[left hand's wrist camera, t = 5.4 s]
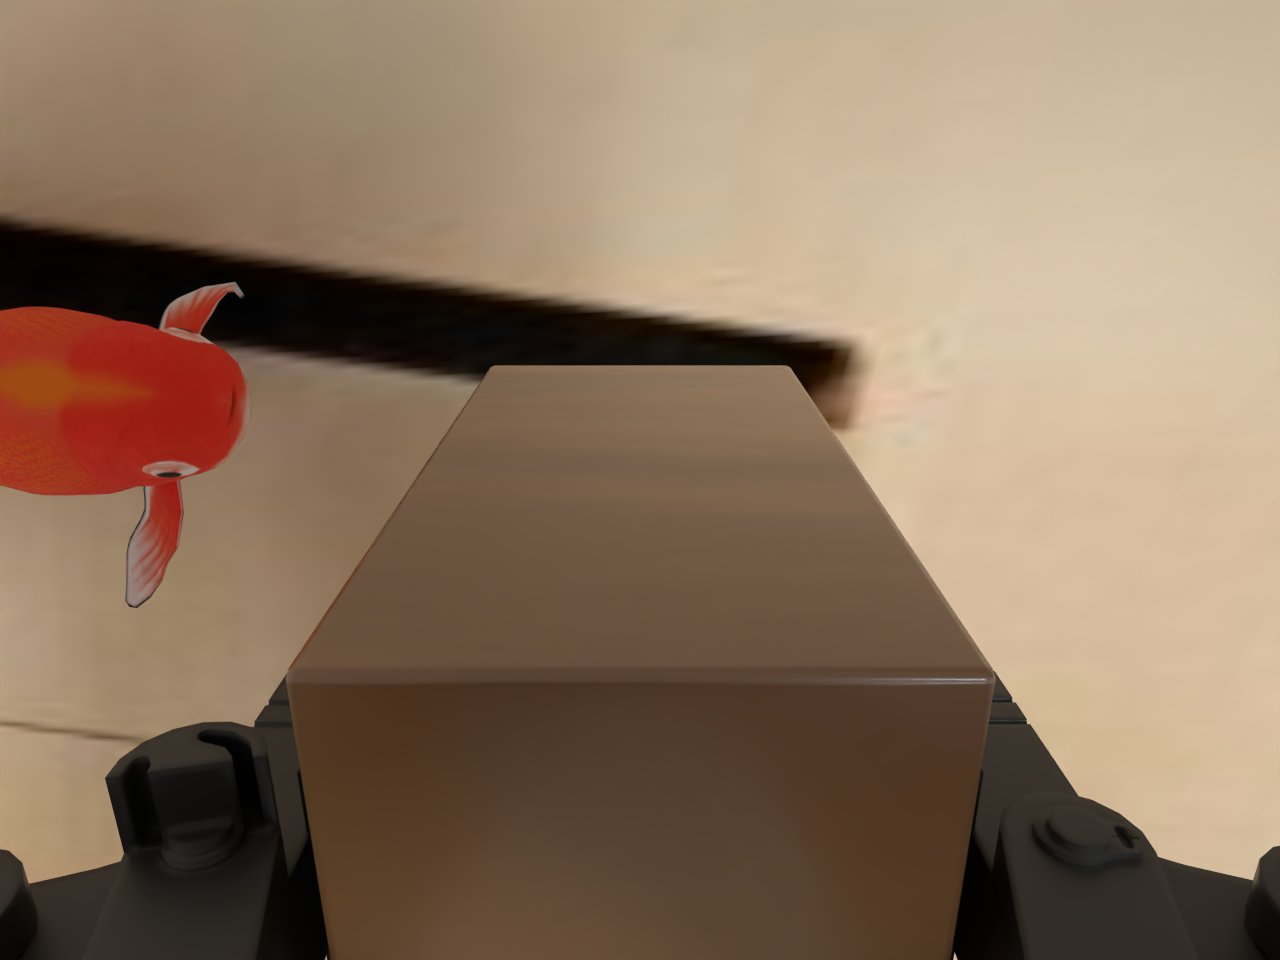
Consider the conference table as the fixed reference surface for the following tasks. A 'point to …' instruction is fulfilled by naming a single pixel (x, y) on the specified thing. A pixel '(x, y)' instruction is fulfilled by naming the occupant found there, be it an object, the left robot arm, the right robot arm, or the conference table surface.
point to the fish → (119, 413)
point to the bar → (640, 691)
